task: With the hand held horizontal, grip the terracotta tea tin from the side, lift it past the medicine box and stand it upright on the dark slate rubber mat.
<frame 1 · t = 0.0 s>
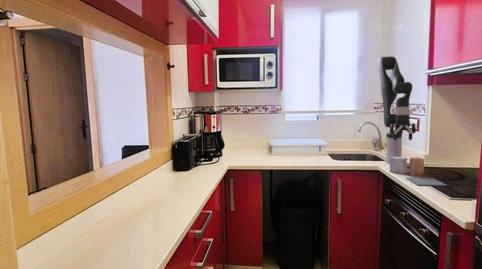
hand: (402, 140, 172), 17 cm above the countertop, tool pointing down, fingers open, 8 cm apart
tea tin: (416, 176, 153), on the countertop
medicine box: (398, 172, 163), on the countertop
slate mat: (425, 182, 142), on the countertop
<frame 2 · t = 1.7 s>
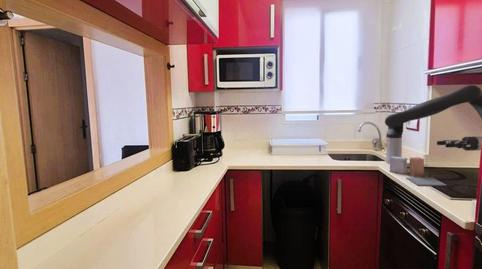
hand: (441, 144, 149), 18 cm above the countertop, tool horizontal, fingers open, 8 cm apart
nothing on the countertop moved.
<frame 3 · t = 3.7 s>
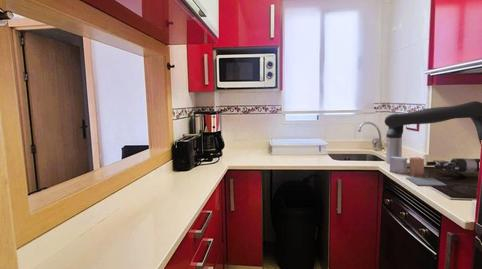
hand: (430, 165, 151), 6 cm above the countertop, tool horizontal, fingers open, 8 cm apart
nothing on the countertop moved.
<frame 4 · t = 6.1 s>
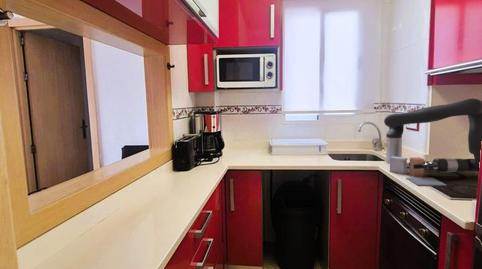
hand: (411, 165, 153), 6 cm above the countertop, tool horizontal, fingers closed on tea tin, 5 cm apart
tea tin: (416, 175, 153), on the countertop, touching gripper
everything else where it was.
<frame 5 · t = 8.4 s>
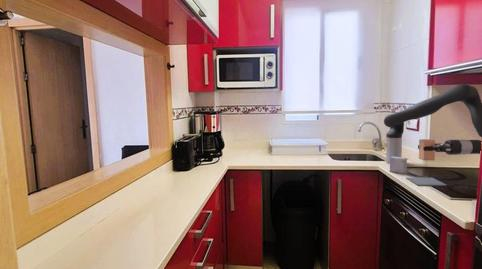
hand: (421, 147, 140), 18 cm above the countertop, tool horizontal, fingers closed on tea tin, 5 cm apart
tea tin: (426, 159, 140), point 12 cm above the countertop, touching gripper
everything else where it was.
when the fingers open (8 cm above the countertop, at t = 11.2 s): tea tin stays where it is, resting on slate mat.
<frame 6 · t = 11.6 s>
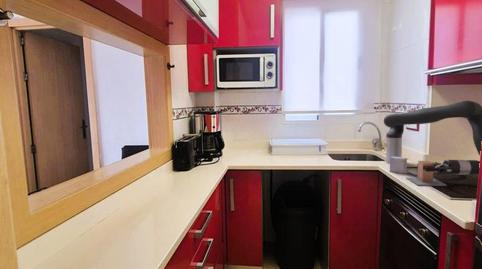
hand: (421, 167, 141), 8 cm above the countertop, tool horizontal, fingers open, 8 cm apart
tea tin: (425, 180, 142), point 1 cm above the countertop, touching slate mat
everything else where it was.
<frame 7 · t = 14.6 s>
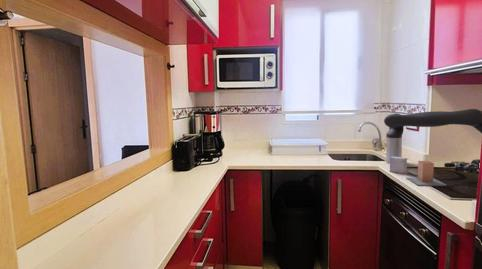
hand: (449, 167, 139), 8 cm above the countertop, tool horizontal, fingers open, 8 cm apart
nothing on the countertop moved.
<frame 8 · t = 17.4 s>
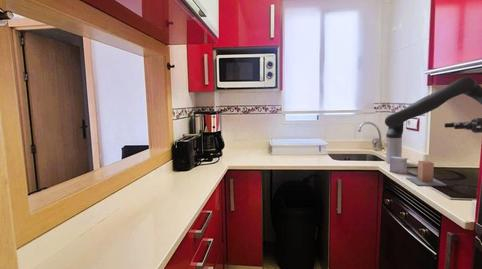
hand: (449, 126, 143), 28 cm above the countertop, tool horizontal, fingers open, 8 cm apart
nothing on the countertop moved.
at the end: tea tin inside the target area on the slate mat (0.1 cm from its centre), point 0.6 cm above the slate mat's base; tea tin tilted 0°; the gripper is holding nothing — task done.
